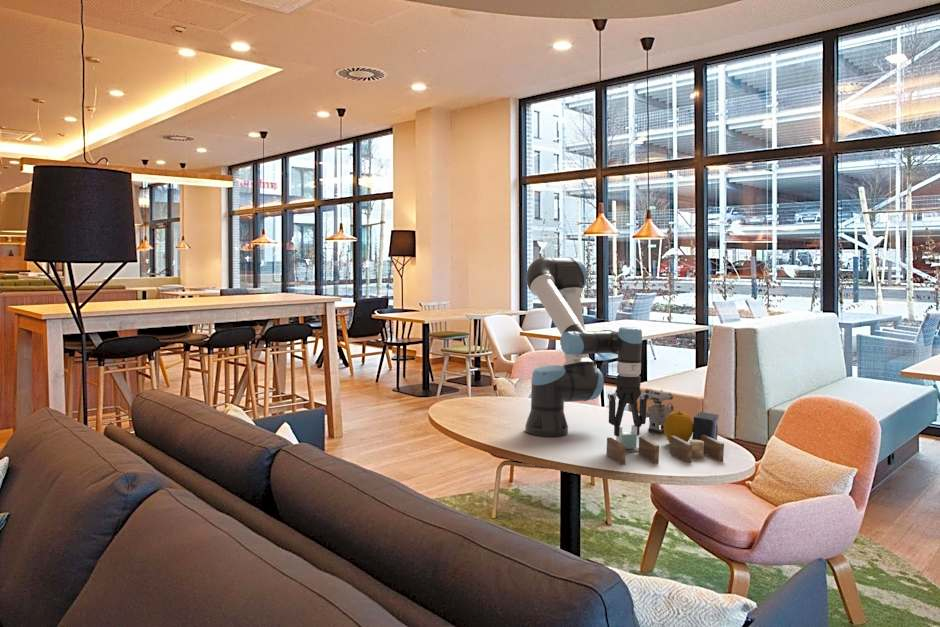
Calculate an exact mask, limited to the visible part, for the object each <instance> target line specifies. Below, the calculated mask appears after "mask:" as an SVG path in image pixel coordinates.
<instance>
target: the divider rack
mask: <svg viewBox="0 0 940 627" xmlns="http://www.w3.org/2000/svg"><path fill="white" fill-rule="evenodd" d="M701 441H704V453H703V455H706V456H708V457H711V458H712V459H714V460H716V461H718V462H724V451H725V443H724V442H722V441H719V440H718V439H717V440H715V439H713V438H711V437H709V436H707V435H701ZM638 448H639V451H638V452H637V453H638V454H639V455H640V456H642V457H644V458H645V459H647V460H648V461H650V462H651V463H652V464H655V463H656V464H659V462H660V445H659V444H657V443H655V442H654V441H652V440H650V439H648V438H647V437H645V436H638ZM669 453H670V454H672V455H674V456H675V457H676V458H678V459H680V460H682V461H684V462H685V463H692V458H691V456H692V444H690V443H689V441H688V442H686V441H684V440H682V439H680V438H678V437H676V436H670V443H669ZM626 455H627V453H626V446H624V445H622V444H621V443H619V442H618V441H616V439H614V438H613V437H606V456H607V457H609V458H610V459H612V461H613V460H614V461H615V462H616V463H618V464H619V465H621V466H622V465H626V457H627V456H626Z"/></svg>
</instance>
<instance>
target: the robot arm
mask: <svg viewBox="0 0 940 627" xmlns="http://www.w3.org/2000/svg"><path fill="white" fill-rule="evenodd" d="M527 268H528V269H527V271H526V275H525V281H526V286H527V287H528V289H529V291H530V292H531V294H533V296H537V298H538V300H539V301H540V303H541V304H542V306H543V308H544V309H545V311H546V313H547V314H548V316H549V318H550V319H551V321H552V322H553V323H554V325H555V327H556V329H557V330H558V332H559V333H560V335H561V337H560V339H559V340H560V342H559V344H560V346H561V350H562V353H564V358H565V361H564V363H563V364H562V365H559V364H558V365H557V364H554V365H551V364H549V365H542V366H539V367H536V368H535V369H534V370H533V372H532V375H531V381H530V382H531V383H530V384H531V398H530V400H531V401H530V412H529V414H528V416H527V420H526V423H525V433H527V434H529V435H533V436H538V437H549V438H551V437H552V438H553V437H556V438H557V437H562V436H566V435H568V434H569V424H568V422H567V418H566V414H565V411H564V410H565V409H564V408H565V403H569V402H587V401H593V400H595V399H598V397H600V395H601V393H602V391H603V388H604V375H603V373H602V372H601V370H600V369H599V368H598V367H595V361H594V360H593V359H591V358H590V355H593V354H594V355H597V354H599V355H602V354H613V355H617V366H616V367H617V371H616V374H617V376H616V389H615V391H614V393H607V398H608V423H609V424H610V425H611V426H613V428H614V429H613V435H614V436H615V438H616V439H615V440H616V441H618V442H619V443H621V444H622V432H623V426H621V423H622V420H623V416H624V412H625V408H626V406H627V404H629V406H630V410H631V415H632V421H633V424H631V428H630V432H632V433H634V434H636V447H638V437H640V432H641V431H640V428H641V427H642V425H646V423H647V422H646V420H647V418H646V414H647V402H648V400H649V399H648V397H649V396H648V394H645V393H644V392H642V390H641V383H642V382H641V376H640V375H641V373H642V372H641V370H642V350H643V348H642V347H643V341H644V340H643V331H642V329H641V328H639V327H635V326H634V327H633V326H621V327H619V328H618V331H616V330H611V329H602V330H597V331H594V330H593V331H592V330H590V331H588V330H586V328H585V322H584V314H583V308H582V300H581V294H582V293H583V292H584V288H585V286H587V282H588V281H587V280H588V276H589V275H588V270H587V268H586V264H584V262H583V261H581V260H580V259H578V258H575V257H574V258H573V257H569V256H568V257H555V256H553V257H552V256H542V257H539V258H537V259H534V261H532V262H531V263H530V265H529V266H528V267H527ZM589 354H590V355H589ZM617 398H618V403H617V405H618V406H617V407H616V399H617ZM638 399H639V408H638ZM616 408H617V409H616Z"/></svg>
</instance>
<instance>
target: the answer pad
mask: <svg viewBox="0 0 940 627" xmlns="http://www.w3.org/2000/svg"><path fill="white" fill-rule="evenodd" d="M638 451H639V447H638V446H636V448H631V449H626V454H627V453H631V454H632V453H638Z"/></svg>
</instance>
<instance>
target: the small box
mask: <svg viewBox="0 0 940 627" xmlns="http://www.w3.org/2000/svg"><path fill="white" fill-rule="evenodd" d="M692 422H693V433H692V436H691V440H701V435H707V436H709V437H711V438H713V439H715V440H717V441H718V431H719V430H718V429H719V414H716V413H710V412H703V411H700V412H699V413H697V414H696V415H695V416H693V419H692Z"/></svg>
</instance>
